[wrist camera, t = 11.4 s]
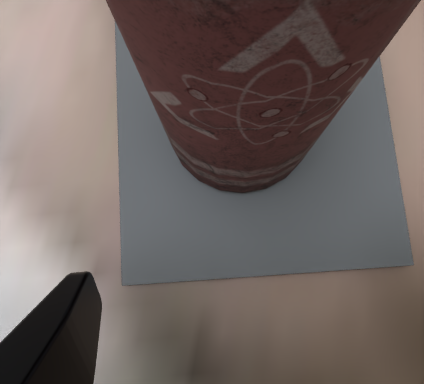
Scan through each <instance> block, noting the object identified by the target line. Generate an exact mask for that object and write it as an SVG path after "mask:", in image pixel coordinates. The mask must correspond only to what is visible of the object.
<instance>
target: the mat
mask: <svg viewBox="0 0 424 384" xmlns="http://www.w3.org/2000/svg"><path fill="white" fill-rule="evenodd" d="M115 39H116V78H117V117H118V156H119V195H120V234H121V273H122V286H124V285H138V284H153V283H167V282H181V281H195V280H210V279H224V278H238V277H253V276H267V275H281V274H295V273H310V272H324V271H338V270H352V269H367V268H381V267H395V266H409V265H414V263H413V257H412V251H411V245H410V239H409V233H408V226H407V220H406V214H405V208H404V202H403V196H402V190H401V184H400V178H399V172H398V166H397V159H396V153H395V147H394V141H393V135H392V129H391V123H390V117H389V111H388V105H387V99H386V92H385V86H384V80H383V74H382V68H381V62H380V56H379V57H378V59H377V60H376V61H375V63H374V64H373V65H372V67H371V68H370V69H369V71H368V72H367V74H366V75H365V76H364V78H363V79H362V80H361V82H360V83H359V84H358V86H357V87H356V88H355V90H354V91H353V92H352V94H351V95H350V96H349V98H348V99H347V100H346V102H345V103H344V104H343V106H342V107H341V109H340V110H339V111H338V113H337V114H336V115H335V117H334V118H333V119H332V121H331V122H330V123H329V125H328V126H327V127H326V129H325V130H324V131H323V133H322V134H321V135H320V137H319V138H318V140H317V141H316V142H315V144H314V145H313V146H312V148H311V149H310V150H309V152H308V153H307V154H306V156H305V157H304V158H303V160H302V161H301V162H300V163H299V164H298V165H297V167H296V168H295V169H294V170H293V171H292V172H291V173H290V174H289V175H288V176H287V177H286V178H285V179H283V180H281V181H279V182H277V183H276V184H274V185H272V186H270V187H268V188H266V189H263V190H257V191H252V192H247V193H237V192H229V191H221V190H218V189H216V188H213V187H211V186H209V185H207V184H205V183H203V182H200V181H199V180H197V179H196V178H195V177H194V176H193V175H192V174H191V173H190V172H189V171H188V170H187V169H186V168H185V167H183V166H182V164H181V162H180V160H179V158H178V157H177V155H176V153H175V151H174V149H173V147H172V145H171V143H170V141H169V139H168V137H167V134H166V132H165V130H164V128H163V125H162V123H161V121H160V119H159V117H158V114H157V112H156V110H155V108H154V106H153V103H152V101H151V99H150V97H149V94H148V92H147V90H146V88H145V86H144V83H143V81H142V79H141V77H140V75H139V72H138V70H137V68H136V66H135V63H134V61H133V59H132V57H131V55H130V52H129V50H128V48H127V46H126V44H125V41H124V39H123V37H122V35H121V32H120V30H119V28H118V26H117V24H116V21H115Z"/></svg>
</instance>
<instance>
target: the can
mask: <svg viewBox="0 0 424 384" xmlns="http://www.w3.org/2000/svg"><path fill="white" fill-rule="evenodd" d="M106 1H107V4H108V6H109V8H110V10H111V13H112V15H113V17H114V19H115V21H116V24H117V26H118V28H119V30H120V32H121V35H122V37H123V39H124V41H125V44H126V46H127V48H128V50H129V52H130V55H131V57H132V59H133V61H134V63H135V66H136V68H137V70H138V72H139V75H140V77H141V79H142V81H143V83H144V86H145V88H146V90H147V92H148V94H149V97H150V99H151V101H152V103H153V106H154V108H155V110H156V112H157V114H158V117H159V119H160V121H161V123H162V125H163V128H164V130H165V132H166V134H167V137H168V139H169V141H170V143H171V145H172V147H173V149H174V151H175V153H176V155H177V157H178V158H179V160H180V162H181V164H182V166H183V167H185V168H186V169H187V170H188V171H189V172H190V173H191V174H192V175H193V176H194V177H195V178H196V179H197V180H199V181H200V182H203V183H205V184H207V185H209V186H211V187H213V188H216V189H218V190H221V191H229V192H237V193H247V192H252V191H257V190H263V189H266V188H268V187H270V186H272V185H274V184H276V183H277V182H279V181H281V180H283V179H285V178H286V177H287V176H288V175H289V174H290V173H291V172H292V171H293V170H294V169H295V168H296V167H297V165H298V164H299V163H300V162H301V161H302V160H303V158H304V157H305V156H306V154H307V153H308V152H309V150H310V149H311V148H312V146H313V145H314V144H315V142H316V141H317V140H318V138H319V137H320V135H321V134H322V133H323V131H324V130H325V129H326V127H327V126H328V125H329V123H330V122H331V121H332V119H333V118H334V117H335V115H336V114H337V113H338V111H339V110H340V109H341V107H342V106H343V104H344V103H345V102H346V100H347V99H348V98H349V96H350V95H351V94H352V92H353V91H354V90H355V88H356V87H357V86H358V84H359V83H360V82H361V80H362V79H363V78H364V76H365V75H366V74H367V72H368V71H369V69H370V68H371V67H372V65H373V64H374V63H375V61H376V60H377V59H378V57H379V56H380V55H381V53H382V52H383V51H384V49H385V48H386V47H387V45H388V44H389V43H390V41H391V40H392V38H393V37H394V36H395V34H396V33H397V32H398V30H399V29H400V28H401V26H402V25H403V24H404V22H405V21H406V20H407V18H408V17H409V16H410V14H411V13H412V12H413V10H414V9H415V7H416V6H417V5H418V3H419V2H420V1H421V0H106Z"/></svg>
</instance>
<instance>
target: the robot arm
mask: <svg viewBox="0 0 424 384" xmlns="http://www.w3.org/2000/svg"><path fill="white" fill-rule="evenodd" d="M101 312H102V301H101V297H100V294H99V292H98V289H97V286H96V283H95V281H94V278H93V276H92V274H91V273H90V272H76V273H70V274H68V275H67V276H66V277H65V278H64V279H63V280H62V281H61V282H60V283H59V284H58V285H57V286H56V287H55V288H54V289H53V290H52V291H51V292H50V293H49V294H48V295H47V296H46V297H45V298H44V299H43V300H42V301H41V302H40V303H39V304H38V305H37V306H36V307H35V308H34V309H33V310H32V311H31V312H30V313H29V314H28V315H27V316H26V317H25V318H24V319H23V320H22V321H21V322H20V323H19V324H18V325H17V326H16V327H15V328H14V329H13V330H12V331H11V332H10V333H9V334H8V335H7V336H6V337H5V338H4V339H3V340H2V341H1V342H0V384H93V382H94V375H95V367H96V358H97V349H98V340H99V331H100V321H101Z"/></svg>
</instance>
